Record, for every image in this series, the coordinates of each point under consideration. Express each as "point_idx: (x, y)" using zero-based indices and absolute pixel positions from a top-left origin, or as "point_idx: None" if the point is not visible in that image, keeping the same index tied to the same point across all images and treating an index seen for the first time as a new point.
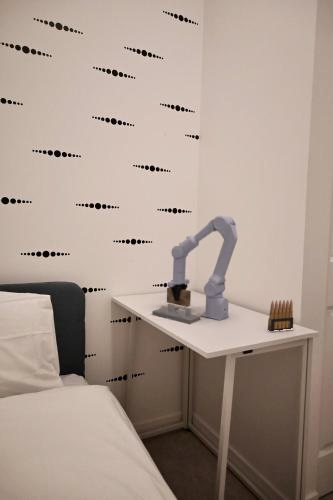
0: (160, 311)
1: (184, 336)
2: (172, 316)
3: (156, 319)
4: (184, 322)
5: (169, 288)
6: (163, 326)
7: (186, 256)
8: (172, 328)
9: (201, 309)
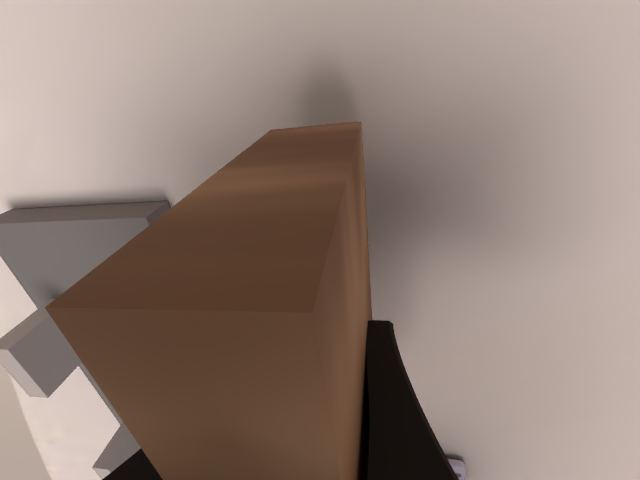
0: (54, 280)
1: (62, 474)
2: (99, 390)
3: (13, 309)
4: None
5: (116, 406)
6: (18, 391)
7: None
8: (52, 424)
9: (529, 391)
